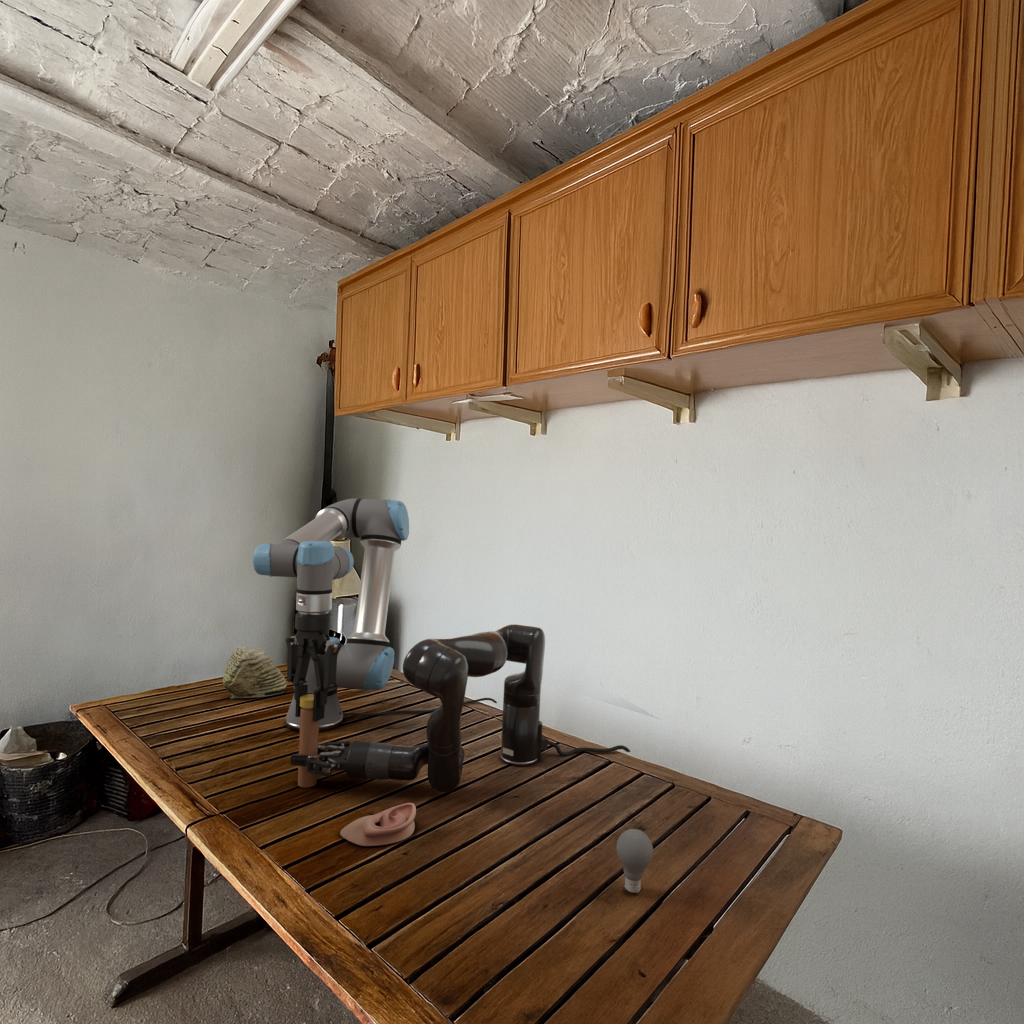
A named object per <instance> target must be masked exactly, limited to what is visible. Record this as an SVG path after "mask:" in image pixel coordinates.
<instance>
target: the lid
mask: <svg viewBox="0 0 1024 1024" xmlns="http://www.w3.org/2000/svg"><path fill="white" fill-rule="evenodd" d="M313 704H314V694H308V695H303V696H301V697H300V707H302V708H313Z"/></svg>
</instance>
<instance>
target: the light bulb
mask: <svg viewBox="0 0 1024 1024" xmlns="http://www.w3.org/2000/svg"><path fill="white" fill-rule="evenodd" d="M615 849H616V854H617V857H618V859H619V861H620V863H621V865H622V867H623V873H624V874H623V875H624V876H625V878H624V888H625V890H627V891H628V892H630V893H634V894H635V893H639V892H640V891H641V889H642V887H641V886H642V879H643V877H644V875H645V871H646V868H647V867H648V866H649V864H650V863H651V861H652V859H653V855H654V847H653V843H652V841H651V838H649V836H648V835H647V834H646V833H645V832H643V831H642V830H641V829H636V828H629V829H627V830H625V831H623V832H622V833H621V834H620V835H619V837H618V839H617V841H616V847H615Z"/></svg>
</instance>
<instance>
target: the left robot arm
mask: <svg viewBox="0 0 1024 1024" xmlns="http://www.w3.org/2000/svg"><path fill="white" fill-rule="evenodd" d="M409 518H410V517H409V512H408V509H407V506H406V505H405V503H404V502H403V501H401V500H393V499H390V498H389V499H378V498H377V499H375V498H359V497H358V498H357V497H355V498H347V499H344V500H343V499H342V500H340V501H337V502H334V503H332V504H329V505H328V506H326V507H324V508H323V509H321V510H320V511H318V512H317V514H316V515H315V517H314V519H312V520H311V521H309V522H307V523H306V524H305V525H303V526H302V527H300V528H299V529H298V530H296V531H294V532H293V533H291V534H290V535H288V536H287V537H285V538H284V539H282V540H281V541H279V542H277V543H262V544H261V543H260V544H259V545H257V547H256V548H255V549H254V552H253V556H252V567H253V570H254V571H255V573H256V574H258V575H260V576H269V577H270V578H272V577H281V578H282V577H283V578H296V596H295V597H296V598H295V599H296V600H295V601H296V602H295V610H296V611H297V612H296V613H295V619H294V620H295V622H294V629H295V630H296V634H295V635H292V636H288V637H286V638H285V643H286V648H287V658H286V659H287V662H286V666H287V667H286V673H287V674H286V682H287V683H292V685H293V695H292V696H293V697H292V699H291V702H290V704H289V708H288V711H287V713H286V715H285V726H286V728H287V729H289V730H291V731H294V732H295V731H296V732H300V708H301V707H300V697H301V696H303V695H308V694H314V704H313V721H315V722H316V721H318V720H319V732H325V731H329V730H332V729H335V728H337V727H339V726H340V725H342V723H343V722H344V716H345V717H347V716H349V717H350V716H355V717H356V716H361V717H372V716H373V717H375V716H383V715H390V714H391V715H392V714H425V713H433V712H434V711H435V710H436V709H437V708H433V709H424V710H423V709H421V710H419V709H416V710H414V709H413V710H412V709H402V710H401V709H400V710H399V709H398V710H389V711H381V712H343V709H342V706H341V702H340V699H339V695H338V689H352V690H362V691H363V690H364V691H379V690H382V689H383V688H384V687H385V686H386V685H387V684H388V682H389V680H390V677H391V675H392V672H393V668H394V663H395V650H394V648H392V647H391V646H390V640H389V639H388V637H387V636H386V625H387V620H388V619H387V617H388V611H389V610H388V609H389V602H390V595H391V588H392V587H391V586H392V577H393V570H394V561H395V553H396V551H398V550H399V549H400V548H401V547H402V541H403V542H404V541H406V540H408V538H409V534H410V519H409ZM342 538H354V539H355V538H357V539H360V544H361V546H362V547H363V548H364V553H363V559H362V568H361V575H360V581H359V582H360V583H359V588H358V589H359V591H358V597H357V605H356V612H355V620H354V627H353V631H352V633H351V634H350V635H348V636H347V638H346V643H345V644H341V641H340V639H339V638H338V637H334V636H330V634H329V632H330V630H331V628H332V613H331V612H330V611H332V609H333V584H334V580H338V579H339V580H340V579H342V578H344V577H345V576H347V575H349V573H351V571H352V570H353V567H354V564H355V559H354V555H353V554H352V552H351V551H350V550H349V549H348V548H346V547H344V546H341V545H340V546H339V545H338V546H336V545H334V543H332V541H333V542H334V541H337V540H340V539H342ZM483 701H490V702H493V703H494V704H498V702H497V700H495V699H494V698H492V697H482V698H478V699H473V700H467V701H464V703H463V706H465V705H468V704H474V703H478V702H483Z"/></svg>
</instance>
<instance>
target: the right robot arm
mask: <svg viewBox="0 0 1024 1024" xmlns="http://www.w3.org/2000/svg"><path fill="white" fill-rule="evenodd" d="M545 651H546V635H545V631H544V630H543V628H541V627H537V626H530V625H523V624H514V623H513V624H508V625H505V626H503V627H501V628H498V629H497V630H490V631H489V630H488V631H482V632H477V633H472V634H468V635H463V636H457V637H453V638H426V639H423V640H421V641H419V642H417V643H416V644H415V645H413V646H412V647H411V648H410V650H409V651H408V652H407V653H406V655H405V657H404V659H403V662H402V673H403V676H404V679H406V681H407V682H409V683H410V684H411V685H412V686H414V687H415V688H416V689H417V688H418V689H419V690H421V691H423V692H425V693H427V694H429V695H430V696H432V697H435V698H437V699H439V700H440V702H441V704H440V705H439V706H438V707H437V708H435V709H436V710H435V711H434V712H431V714H430V715H429V717H428V719H427V723H426V742H427V743H421V744H416V745H399V744H391V743H386V742H375V741H359V740H355V741H353V742H352V743H351V741H348V740H346V741H329V742H328V741H326V742H325V741H324V742H322V744H318V755H302V754H299V753H293V754H292V755H291V756H290V765H291V766H297V767H298V766H307V772H310V773H314V774H317V776H323V777H326V778H330V777H331V776H332V772H338V771H339V772H340V771H345V772H346V775H347V777H348V778H350V779H363V780H374V781H375V780H376V781H383V780H384V781H385V780H395V781H410V782H411V781H415V780H416V779H417V777H418V776H419V774H420V771H421V770H422V768H423V767H425V766H426V765H427V780H428V783H429V786H430V787H431V788H432V789H433V790H435V791H436V792H438V793H442V794H443V793H444V794H447V793H451V792H453V791H455V790H456V789H457V788H458V787H459V785H460V783H461V780H462V774H463V773H462V772H463V766H464V761H465V750H464V748H463V746H462V731H461V728H462V727H461V723H462V722H461V720H462V714H463V707H464V705H463V703H464V702H465V697H466V691H467V685H468V680H469V679H468V678H481V677H486V676H488V675H491V674H495V673H496V672H499V670H501V669H502V668H503V667H504V665H505V664H506V662H513V663H518V664H524V665H525V668H524V671H521V672H518V673H517V672H516V673H513V674H510V675H507V676H506V677H505V679H504V682H503V701H502V703H503V704H502V721H501V722H502V724H501V745H500V760H501V761H502V762H504V763H506V764H507V765H508V764H509V765H512V766H520V767H521V766H530V765H534V764H536V763H537V762H541V761H542V751H547V750H548V749H549V748H548V747H549V746H551V747H553V748H554V749H555V750H556V752H557V754H558V755H560V756H563V757H567V756H571V755H574V754H577V753H581V752H587V753H589V752H590V753H599V754H601V753H602V754H609V753H612V752H615V751H618V750H623V751H625V752H626V753H631V749H629V748H628V747H627V746H625V745H623V744H622V745H621V744H619V745H615V746H612V747H608V748H597V747H584V746H583V747H576V748H573V749H571V750H568V751H562V749H561V748H560V745H559V744H558V743H556V742H554V741H551V740H549V739H548V738H547V736H545V735H544V734H543V722H542V721H541V720H540V713H541V693H542V681H543V673H544V662H545V661H544V660H545ZM315 759H318V760H315ZM314 768H315V769H314Z"/></svg>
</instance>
